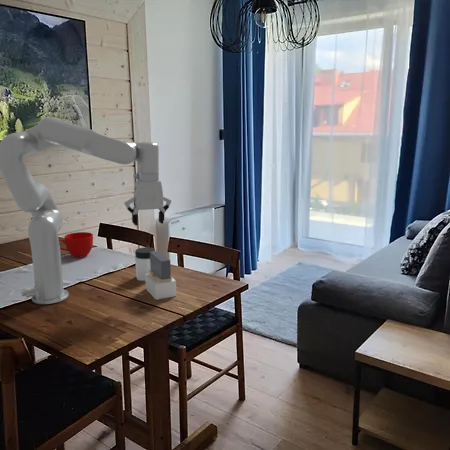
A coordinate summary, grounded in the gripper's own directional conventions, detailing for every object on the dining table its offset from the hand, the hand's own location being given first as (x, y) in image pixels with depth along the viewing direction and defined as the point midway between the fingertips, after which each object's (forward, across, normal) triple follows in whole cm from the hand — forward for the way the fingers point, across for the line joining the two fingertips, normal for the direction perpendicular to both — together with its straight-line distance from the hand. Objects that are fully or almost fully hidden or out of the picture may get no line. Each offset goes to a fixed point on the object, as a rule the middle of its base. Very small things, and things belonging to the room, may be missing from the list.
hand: (148, 223), depth 164 cm
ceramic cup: (+28, -18, +60) cm, 68 cm away
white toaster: (+27, +4, -2) cm, 27 cm away
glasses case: (+19, +4, -2) cm, 20 cm away
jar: (+27, +4, +16) cm, 32 cm away
